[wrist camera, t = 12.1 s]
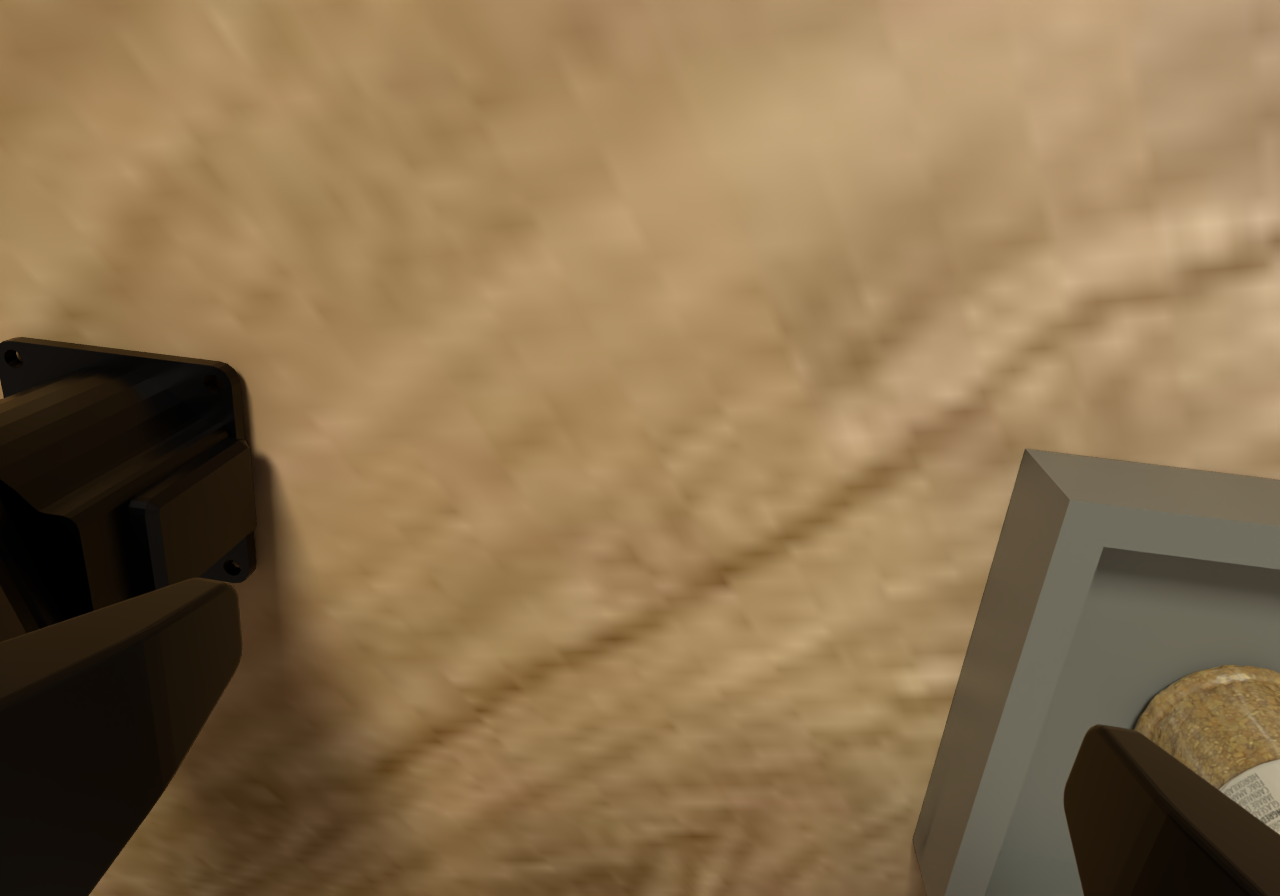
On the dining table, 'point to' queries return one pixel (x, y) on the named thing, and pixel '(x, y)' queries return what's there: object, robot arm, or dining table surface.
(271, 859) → the dining table surface
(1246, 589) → the tray
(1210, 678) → the sprinkles bottle
